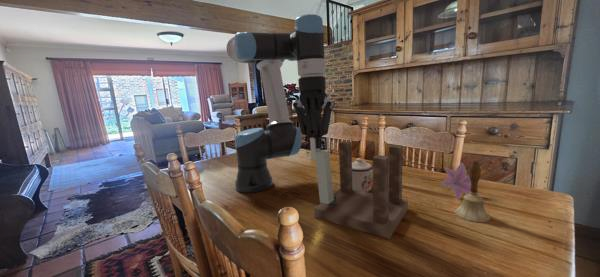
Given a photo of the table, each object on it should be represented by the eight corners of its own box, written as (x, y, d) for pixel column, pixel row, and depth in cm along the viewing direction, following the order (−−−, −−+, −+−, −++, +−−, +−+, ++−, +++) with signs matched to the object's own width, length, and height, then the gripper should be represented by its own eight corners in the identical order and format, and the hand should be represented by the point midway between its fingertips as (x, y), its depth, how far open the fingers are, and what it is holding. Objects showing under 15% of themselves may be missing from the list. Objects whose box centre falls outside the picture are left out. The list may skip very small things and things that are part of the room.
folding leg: (320, 202, 75) (314, 152, 72) (325, 198, 77) (320, 149, 75) (328, 204, 73) (323, 152, 70) (333, 200, 75) (329, 150, 73)
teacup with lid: (365, 195, 88) (365, 163, 86) (342, 190, 94) (341, 160, 92) (379, 184, 97) (379, 155, 95) (357, 180, 103) (356, 152, 101)
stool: (314, 217, 75) (311, 152, 72) (342, 195, 90) (340, 140, 86) (389, 239, 63) (389, 161, 59) (407, 209, 77) (408, 145, 73)
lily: (433, 199, 84) (447, 180, 78) (431, 176, 93) (443, 157, 87) (472, 212, 82) (489, 193, 76) (466, 186, 91) (480, 167, 85)
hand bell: (491, 225, 66) (497, 166, 63) (454, 218, 70) (457, 163, 67) (489, 211, 73) (493, 158, 70) (455, 206, 77) (458, 155, 74)
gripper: (284, 78, 71) (290, 159, 75) (325, 74, 63) (328, 165, 67) (300, 78, 77) (305, 153, 81) (339, 74, 69) (341, 158, 73)
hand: (315, 158), depth 74 cm, fingers closed
